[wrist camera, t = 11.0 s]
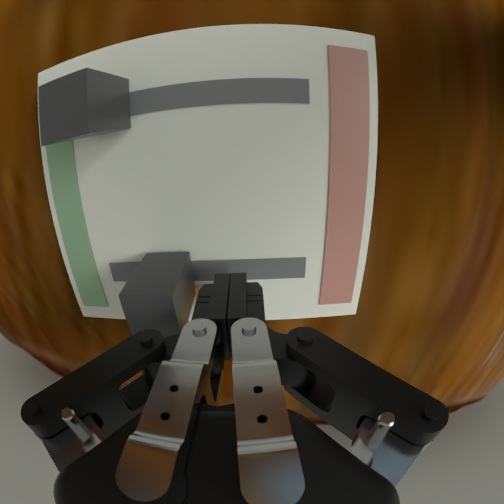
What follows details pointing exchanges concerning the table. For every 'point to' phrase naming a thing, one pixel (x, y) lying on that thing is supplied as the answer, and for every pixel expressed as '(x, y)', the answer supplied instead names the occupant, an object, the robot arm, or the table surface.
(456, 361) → the table surface
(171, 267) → the block
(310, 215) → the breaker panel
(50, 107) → the block
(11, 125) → the table surface
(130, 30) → the table surface
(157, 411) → the robot arm
